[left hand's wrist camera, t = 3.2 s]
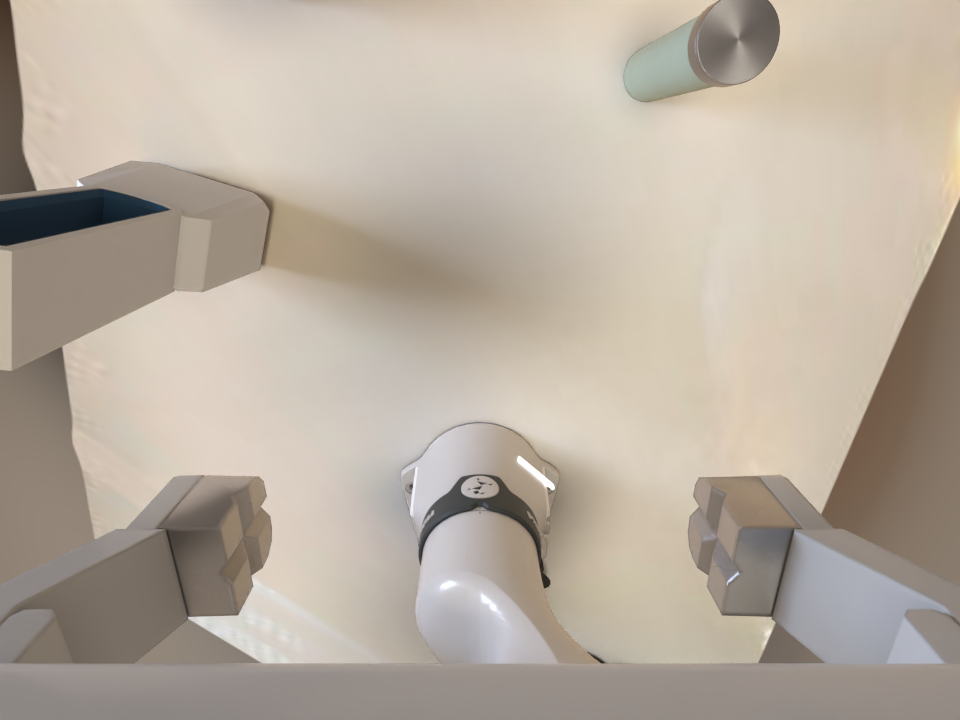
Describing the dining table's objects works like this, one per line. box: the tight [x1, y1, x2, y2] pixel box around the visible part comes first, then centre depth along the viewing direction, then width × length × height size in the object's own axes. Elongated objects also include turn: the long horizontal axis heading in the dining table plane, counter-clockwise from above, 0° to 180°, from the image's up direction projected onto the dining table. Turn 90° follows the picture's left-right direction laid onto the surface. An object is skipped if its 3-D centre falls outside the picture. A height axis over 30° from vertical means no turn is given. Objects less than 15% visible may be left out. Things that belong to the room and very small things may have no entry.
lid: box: [688, 0, 780, 87], centre depth 34 cm, size 5×5×2 cm
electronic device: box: [0, 161, 270, 371], centre depth 41 cm, size 12×8×30 cm, turn 73°
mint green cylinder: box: [624, 15, 714, 102], centre depth 42 cm, size 4×4×18 cm
